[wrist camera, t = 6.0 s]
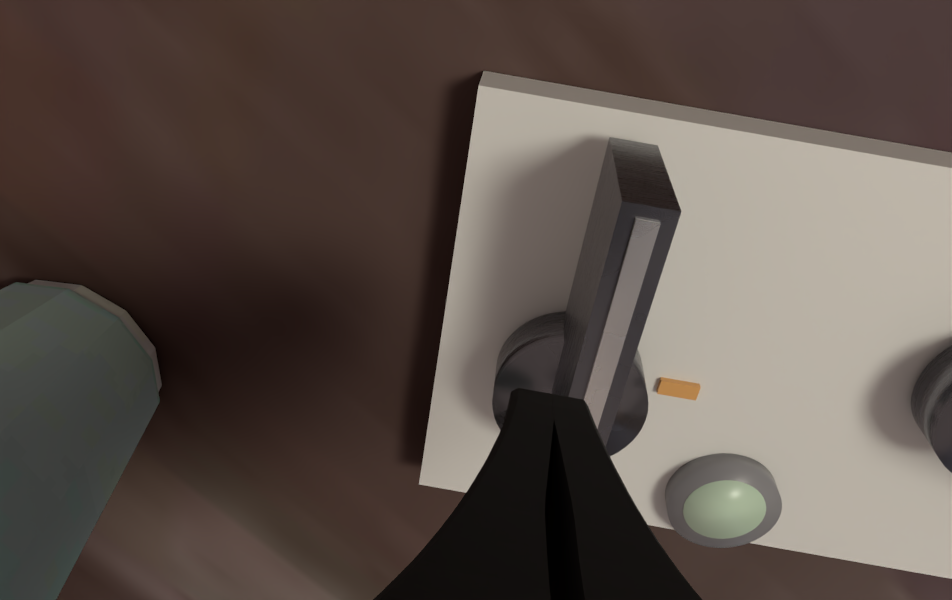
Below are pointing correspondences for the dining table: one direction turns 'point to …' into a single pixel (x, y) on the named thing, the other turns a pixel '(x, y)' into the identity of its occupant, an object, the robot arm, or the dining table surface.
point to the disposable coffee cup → (64, 424)
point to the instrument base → (724, 318)
